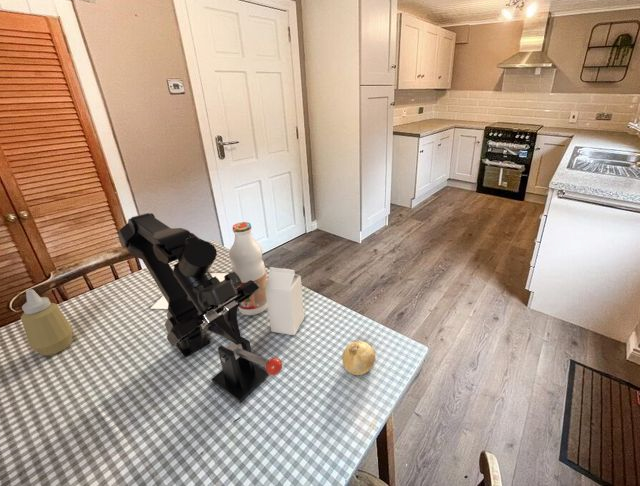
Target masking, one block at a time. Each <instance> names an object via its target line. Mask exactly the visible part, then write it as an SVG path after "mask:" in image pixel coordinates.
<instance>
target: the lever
mask: <svg viewBox="0 0 640 486" xmlns="http://www.w3.org/2000/svg"><path fill="white" fill-rule="evenodd" d="M225 348H227V349H228V350H230V351H231V352H233V353H234V355H235V360H237V359H238V358H239V357H242V358H244V359H247V360H249V361H252V362H253V364H255V365H259V366H261V367H264V368H265V371H266V372H267V373H268V375H269V376H277V375H278V374H279V373H280V372H281V371H282V369H283V362H282V360H281V359H280V358H278V357H272V358H269V359H267V358H265V357H263V356H260V355H257V354H255V353H253V352H252V353H250V352H247V351H245V350H243V348H242V345H241V344H238V345H236V344H235V343H233V342H231V343H230V344H229V345H228V346H226V347H225Z"/></svg>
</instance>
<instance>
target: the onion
mask: <svg viewBox="0 0 640 486" xmlns="http://www.w3.org/2000/svg"><path fill="white" fill-rule="evenodd" d="M341 360H342V361H341V362H342V365H343V367H344V369H345V370H346V372H348V373H349V374H351V375H353V376H362V375H365V374H367V373H368V372H369V371H371V369H372V368H373V367H374V365H375V361H376V353H375V350H374V349H373V347H372V346H371V345H370V344H369V343H367V342H365V341H361V340H356V341H353V342H350V344H348V345H347V346H346V347H345V348H344V350H343V352H342V356H341Z"/></svg>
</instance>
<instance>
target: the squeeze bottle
mask: <svg viewBox="0 0 640 486" xmlns="http://www.w3.org/2000/svg"><path fill="white" fill-rule="evenodd" d="M25 297H26V302H25V303H24V304H23V305H22V306H21V309H22V311H23V313H22V314H21V316H20V320H21V324H22V327H23V330H24V332H25V333H24V334H25V336H26V339H27V342H28V345H29V347H30V349H32V350H33V351H35V352H36V353H38V354H40V355H41V356H45V357H47V356H52V355H55V354H58V353H60V352H62V351H64V350H65V349H67V348H68V347H69V346H70V345H71V344H72V341H73V332H74V331H73V330H74V328H73V327H72V325H71V324H70V322H69V320H68V319H67V318H66V316H65V315H64V313H63V312H62V310H61V308H60V307H59V305H58V304H57V303H54V302H51V300H50V299H49V297H47V296H40V295H39V294H38V293H37V292H36V291H35V290H34V289H33V288H29V289H27V290H25Z"/></svg>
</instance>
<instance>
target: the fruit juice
mask: <svg viewBox="0 0 640 486" xmlns="http://www.w3.org/2000/svg"><path fill="white" fill-rule="evenodd" d="M232 232H233V233H234V241H233V244H232V245H231V247H230V249H229V251H228V252H229V253H228V258H229V261H230V262H231V264H232V266H231V272H234V271H235V272H236V274H237V275H238V276H239V277H240V279H241V282H242V284H241V285H243V284H245V283H246V282H248V281H250V280H252V281H255V282H256V283H257V284H258V286H259V287H260V288H259V289H258V290H257V291H256V292H255V293H254V294H253V295H252V296H250V297H249V298H247V299H246V300H244V301H243V302H241V303H240V306H239V307H238V308H237V310H238V311H239V312H240V314H242V315H245V316H255V315H258V314H261V313H263V312H264V311H266V310H268V305H267V298H266V291H265V286H266V282H267V279H268V276H267V271H266V266H265V262H264V260H263V253H264V252H263V248H262V246H261V243H259V242H258V241H257V240H256V239H255V238H254V236H253V234H252V224H251V223H250V222H248V221H241V222H237V223H235V224H233V225H232ZM241 285H240V286H241ZM240 286H238V287H240ZM238 287H236V289H237V288H238ZM237 304H238V303H237Z"/></svg>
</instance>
